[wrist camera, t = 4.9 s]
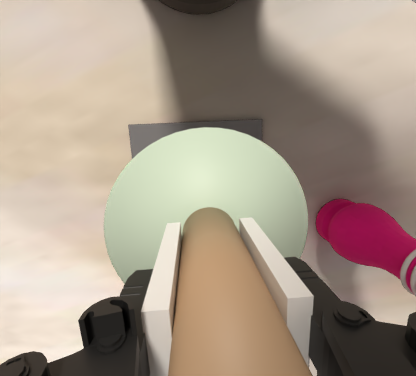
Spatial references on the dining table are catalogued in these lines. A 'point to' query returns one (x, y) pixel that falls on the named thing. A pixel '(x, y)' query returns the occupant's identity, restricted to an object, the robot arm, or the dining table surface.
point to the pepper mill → (369, 238)
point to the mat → (152, 132)
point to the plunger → (213, 246)
